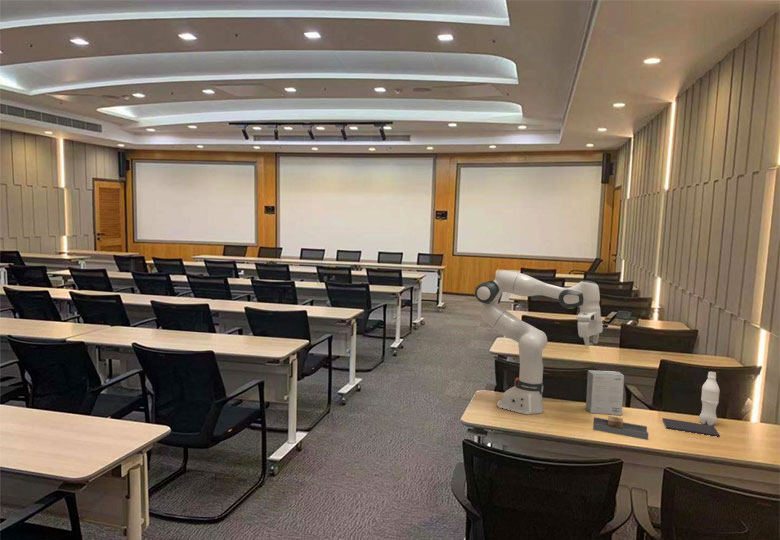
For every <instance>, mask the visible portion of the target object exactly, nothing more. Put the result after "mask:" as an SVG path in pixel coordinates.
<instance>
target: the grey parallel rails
mask: <svg viewBox="0 0 780 540" xmlns="http://www.w3.org/2000/svg"><path fill="white" fill-rule="evenodd" d="M592 430H593V431H599V432H604V433H610V434H616V435H620V436H626V437H631V438H637V439H642V440H648V441H649V432H648V427H647V426H646V425H640V424H635V423H629V422H624V421H623V428H619V427H613V426H608V418H601V417H595V416H594V417H593V425H592Z"/></svg>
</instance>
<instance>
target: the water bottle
mask: <svg viewBox="0 0 780 540" xmlns="http://www.w3.org/2000/svg"><path fill="white" fill-rule="evenodd" d="M720 391H721V390H720V387H719V385H718V382H717V373H716V371H708V373H707V379H706V381H705V382H704V383H703V385H702V386H701V398H700V400H701V404H702V405H701V411H700V412H701V413H700V414H699V421H700V424H704V425H706V423H707V425H711V426H715V425H716V424H717V422H718V418H717V407H718V405H719V402H720V401H719V400H720V399H719V398H720Z"/></svg>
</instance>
